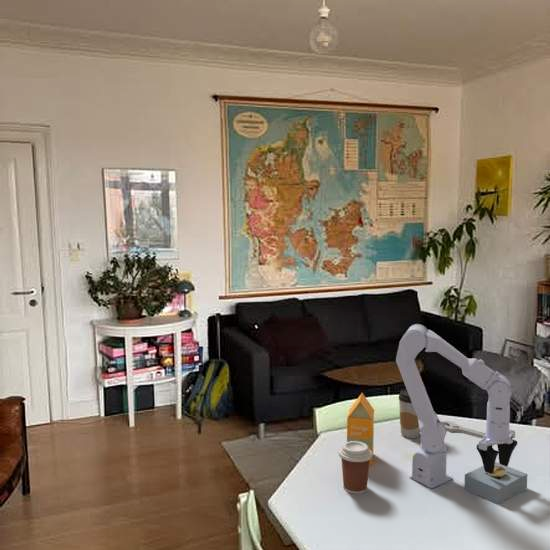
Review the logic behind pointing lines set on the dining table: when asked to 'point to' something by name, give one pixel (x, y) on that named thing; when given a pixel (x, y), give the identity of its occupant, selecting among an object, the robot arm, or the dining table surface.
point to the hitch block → (496, 483)
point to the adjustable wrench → (461, 429)
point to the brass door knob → (497, 472)
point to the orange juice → (361, 423)
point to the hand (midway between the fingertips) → (496, 468)
